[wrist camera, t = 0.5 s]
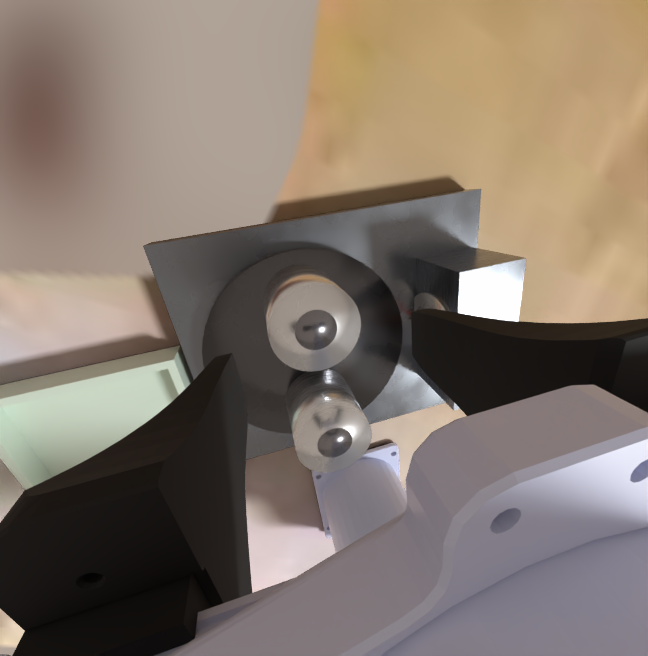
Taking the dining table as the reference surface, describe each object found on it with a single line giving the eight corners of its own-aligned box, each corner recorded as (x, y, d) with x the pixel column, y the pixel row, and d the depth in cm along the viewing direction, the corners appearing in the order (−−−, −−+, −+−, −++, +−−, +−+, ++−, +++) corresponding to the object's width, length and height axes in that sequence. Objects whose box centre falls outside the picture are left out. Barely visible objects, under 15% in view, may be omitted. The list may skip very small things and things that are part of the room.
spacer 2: (351, 412, 22) (374, 460, 18) (292, 429, 22) (303, 482, 18) (344, 361, 21) (369, 401, 16) (280, 377, 20) (289, 423, 16)
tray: (226, 466, 24) (224, 487, 23) (76, 509, 23) (61, 535, 21) (180, 345, 20) (173, 359, 18) (-12, 387, 18) (-40, 408, 16)
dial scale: (456, 386, 27) (509, 432, 22) (227, 450, 24) (222, 523, 18) (465, 189, 20) (544, 185, 15) (151, 242, 17) (108, 261, 12)
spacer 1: (339, 326, 19) (365, 360, 15) (271, 342, 19) (278, 381, 15) (330, 258, 18) (356, 275, 14) (255, 272, 17) (258, 295, 13)
